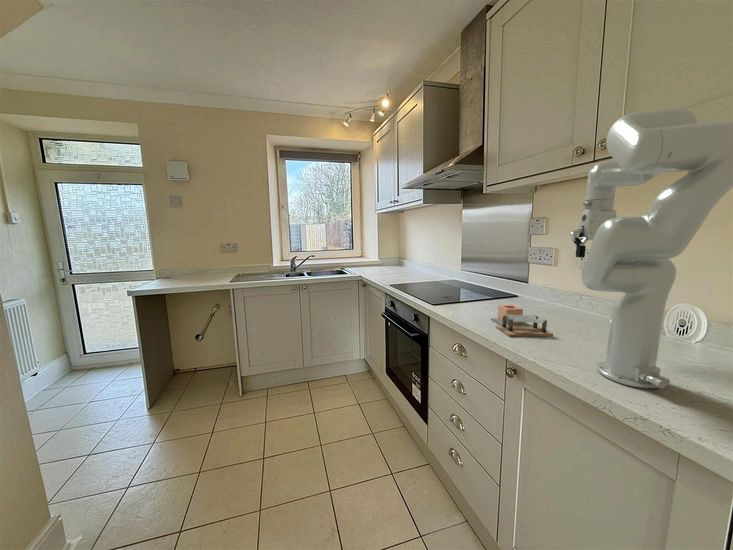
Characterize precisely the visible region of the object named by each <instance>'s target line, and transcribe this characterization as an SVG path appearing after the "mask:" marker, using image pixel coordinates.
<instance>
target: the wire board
mask: <svg viewBox="0 0 733 550" xmlns="http://www.w3.org/2000/svg"><path fill="white" fill-rule="evenodd" d="M508 328H509V325H506V327H502V326H500V325H495V329H497V330H498V329H499V330H498V331H500V332H501V333H503V334H504V335H506V336H508V337H509V338H518V337H521V338H523V337H545V336H546V337H548V336H549V337H553V336H554V333H553V332H551V331H549V330H547V329H546V333H542V326H539V325H537V328H533V324H529V325H513V331H508Z"/></svg>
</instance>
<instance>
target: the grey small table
mask: <svg viewBox="0 0 733 550" xmlns="http://www.w3.org/2000/svg"><path fill="white" fill-rule="evenodd" d="M507 318H510V319H509V328H508V331H513V322H526V323H533V324H532V325H533V328H537V326H539V325H538V324H539V323H540V324H541V328H542V333H546V330H547V327H548V325H547V324H548V320H547V319H545V318H544V319H543V318H542V319H541V318H539V316H538V315H535V314H533V315H531V314H529V315H528V314H523V315H503V320H502V327H506V321H507Z"/></svg>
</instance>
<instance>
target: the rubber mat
mask: <svg viewBox="0 0 733 550" xmlns="http://www.w3.org/2000/svg"><path fill="white" fill-rule="evenodd" d="M490 320H491V321H492V322H493V323H495V322H496V324H498V326H502V321H500V320H498V317H495V318H493V317H491V318H490ZM506 325H509V324H506ZM513 325H530V324H529V323H528V322H522V324H513Z"/></svg>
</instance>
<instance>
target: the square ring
mask: <svg viewBox="0 0 733 550" xmlns="http://www.w3.org/2000/svg"><path fill="white" fill-rule="evenodd" d="M523 313H524V309H523V308H522V307H520V306H517V305H515V304H498V307H497V318H498V320H500V321H502V320H503V315H524V314H523ZM509 319H510V318H507V321H506V324H509ZM513 324H522V322H513Z"/></svg>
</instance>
